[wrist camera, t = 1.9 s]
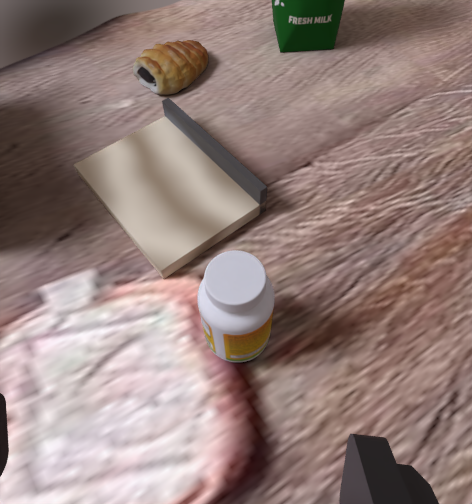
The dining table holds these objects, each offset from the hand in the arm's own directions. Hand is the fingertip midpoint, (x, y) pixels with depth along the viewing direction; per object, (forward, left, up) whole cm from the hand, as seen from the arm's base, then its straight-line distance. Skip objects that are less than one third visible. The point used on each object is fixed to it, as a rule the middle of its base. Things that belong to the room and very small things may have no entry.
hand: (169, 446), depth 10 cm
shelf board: (-12, -24, -23) cm, 36 cm away
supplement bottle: (-8, -8, -23) cm, 26 cm away
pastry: (-23, -40, -23) cm, 51 cm away
